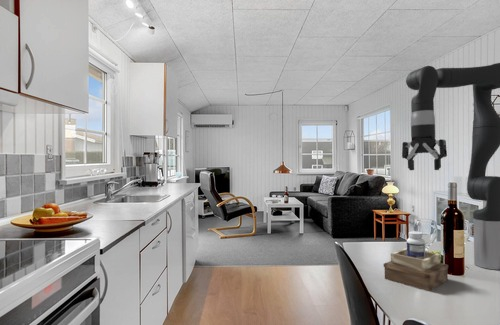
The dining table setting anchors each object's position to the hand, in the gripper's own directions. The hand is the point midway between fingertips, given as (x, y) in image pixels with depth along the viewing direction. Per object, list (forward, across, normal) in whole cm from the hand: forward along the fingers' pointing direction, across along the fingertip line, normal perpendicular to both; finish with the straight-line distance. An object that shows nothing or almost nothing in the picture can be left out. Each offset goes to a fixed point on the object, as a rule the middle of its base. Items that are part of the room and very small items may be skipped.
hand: (423, 170), depth 113 cm
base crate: (+36, -1, +10) cm, 37 cm away
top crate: (+31, -1, +10) cm, 33 cm away
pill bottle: (+30, -1, +10) cm, 32 cm away
